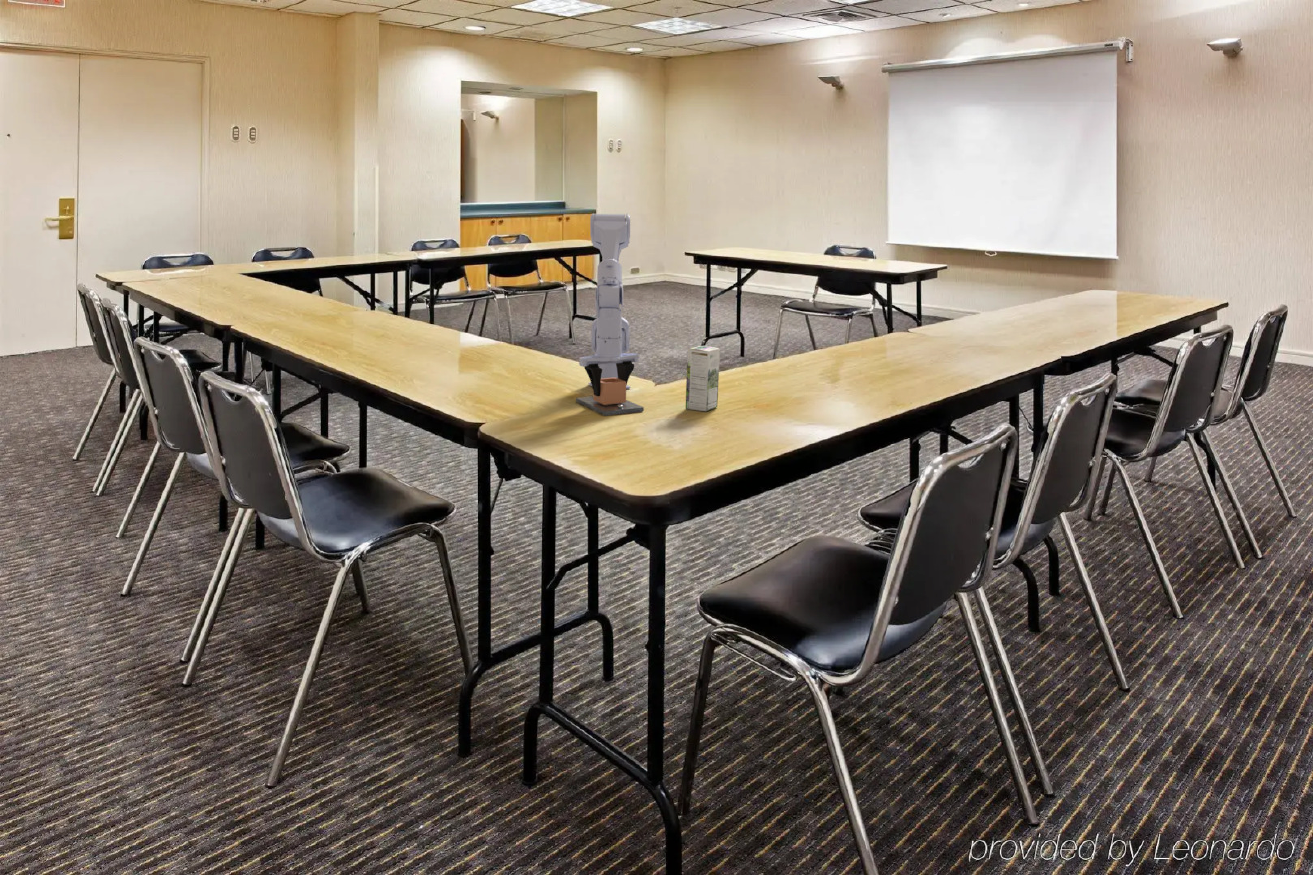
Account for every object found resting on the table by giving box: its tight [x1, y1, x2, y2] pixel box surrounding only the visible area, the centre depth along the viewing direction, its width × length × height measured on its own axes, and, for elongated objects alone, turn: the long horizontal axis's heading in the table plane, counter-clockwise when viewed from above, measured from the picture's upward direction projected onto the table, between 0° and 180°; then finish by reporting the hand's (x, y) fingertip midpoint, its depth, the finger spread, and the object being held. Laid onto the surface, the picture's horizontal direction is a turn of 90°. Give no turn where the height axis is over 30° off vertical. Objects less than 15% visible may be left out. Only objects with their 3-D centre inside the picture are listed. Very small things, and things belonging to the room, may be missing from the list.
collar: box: [592, 377, 627, 405], centre depth 231 cm, size 6×6×5 cm
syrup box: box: [685, 345, 721, 412], centre depth 230 cm, size 6×6×14 cm
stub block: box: [575, 395, 645, 417], centre depth 232 cm, size 16×10×3 cm, turn 29°
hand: (609, 394), depth 231 cm, fingers closed on collar, 6 cm apart
